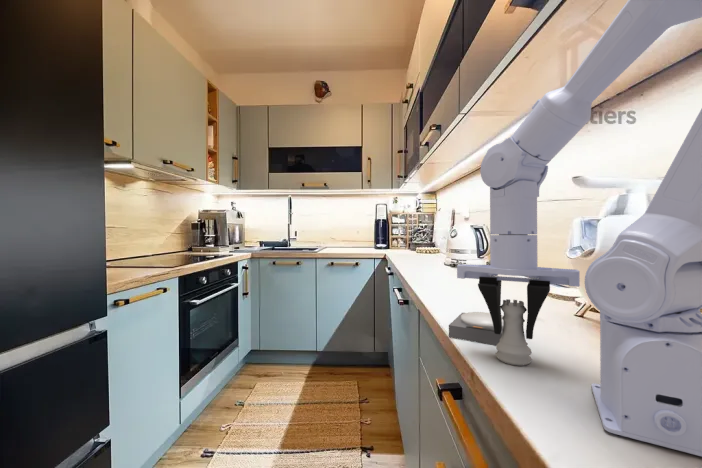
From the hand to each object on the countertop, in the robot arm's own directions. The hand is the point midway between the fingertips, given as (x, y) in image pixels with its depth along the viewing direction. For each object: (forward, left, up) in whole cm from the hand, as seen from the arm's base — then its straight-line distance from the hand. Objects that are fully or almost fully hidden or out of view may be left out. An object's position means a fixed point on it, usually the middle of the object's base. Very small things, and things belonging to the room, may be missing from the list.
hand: (513, 334), depth 42 cm
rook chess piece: (0, 0, -4) cm, 4 cm away
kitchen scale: (+10, +5, -3) cm, 12 cm away
